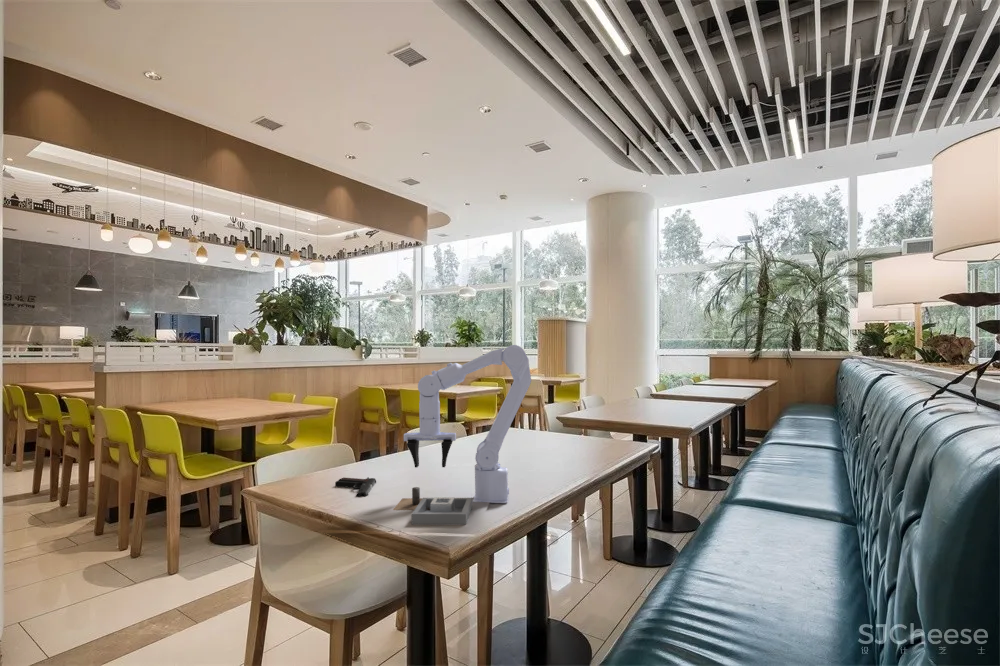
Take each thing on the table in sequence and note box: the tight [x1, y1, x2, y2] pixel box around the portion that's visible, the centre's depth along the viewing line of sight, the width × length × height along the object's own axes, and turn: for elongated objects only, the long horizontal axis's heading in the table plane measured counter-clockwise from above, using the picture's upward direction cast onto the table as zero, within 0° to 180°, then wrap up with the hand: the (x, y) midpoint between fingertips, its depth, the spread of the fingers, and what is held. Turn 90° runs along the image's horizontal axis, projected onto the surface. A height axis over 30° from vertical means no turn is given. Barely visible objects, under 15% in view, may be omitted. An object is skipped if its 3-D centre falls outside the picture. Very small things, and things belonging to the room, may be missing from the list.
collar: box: [430, 496, 456, 512], centre depth 124 cm, size 5×5×4 cm
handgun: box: [334, 476, 377, 498], centre depth 150 cm, size 2×18×12 cm
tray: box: [411, 497, 473, 526], centre depth 124 cm, size 13×13×3 cm
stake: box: [392, 486, 430, 511], centre depth 134 cm, size 10×10×5 cm
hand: (430, 466), depth 139 cm, fingers open, 7 cm apart
